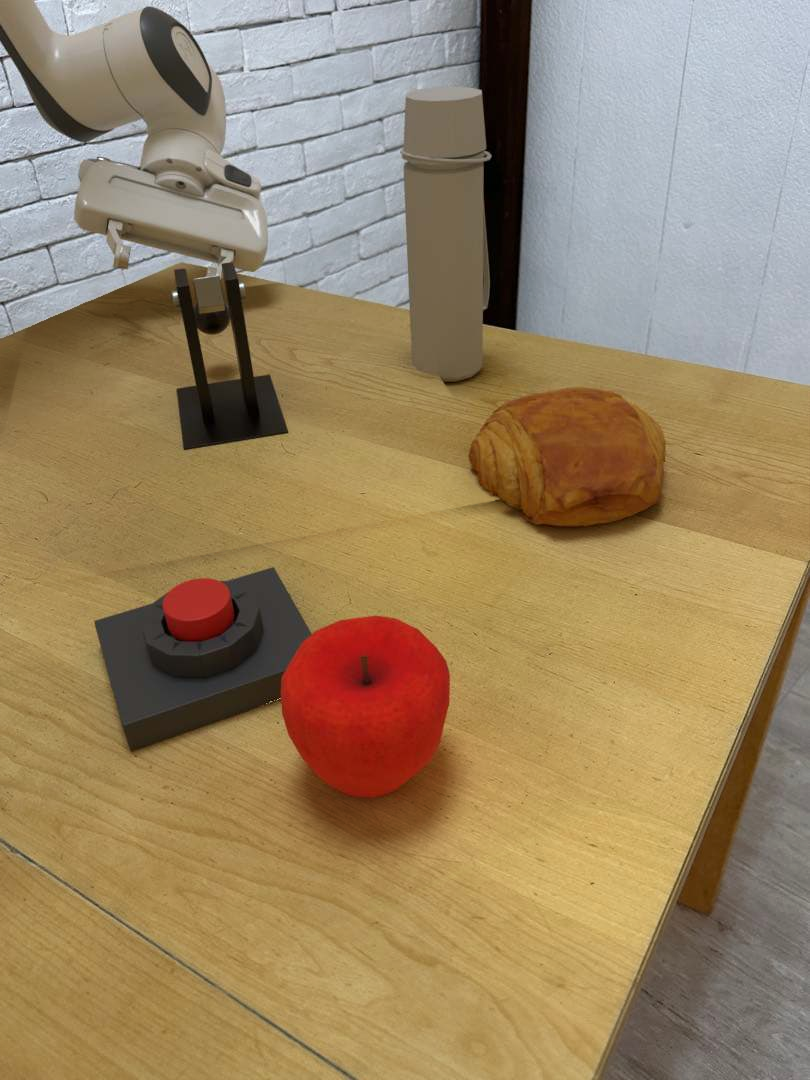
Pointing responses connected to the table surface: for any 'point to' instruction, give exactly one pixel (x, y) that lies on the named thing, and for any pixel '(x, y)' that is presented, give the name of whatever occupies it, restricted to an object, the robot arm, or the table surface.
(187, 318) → the bracket
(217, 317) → the lever
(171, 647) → the button box
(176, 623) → the button
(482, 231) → the water bottle
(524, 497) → the croissant
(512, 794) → the table surface
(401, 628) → the apple
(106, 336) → the table surface
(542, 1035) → the table surface
